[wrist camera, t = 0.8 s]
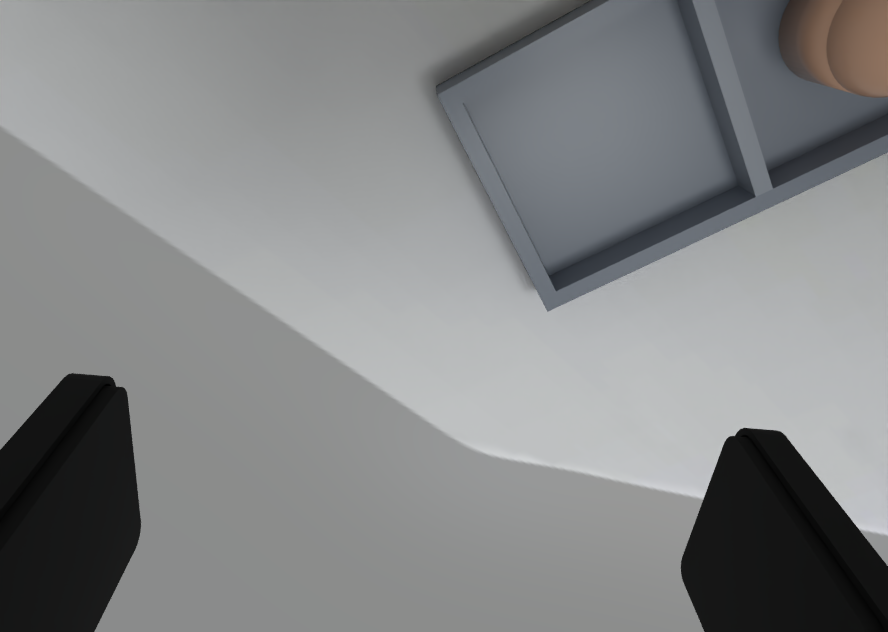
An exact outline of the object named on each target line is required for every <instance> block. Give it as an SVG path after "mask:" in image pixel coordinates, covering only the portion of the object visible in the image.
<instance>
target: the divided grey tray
mask: <svg viewBox="0 0 888 632" xmlns="http://www.w3.org/2000/svg"><path fill="white" fill-rule="evenodd" d="M789 1H790V0H591V1H589V2H587V3H586V4H584V5H582V6H580V7H578V8H577V9H575V10H573V11H571V12H569V13H568V14H566V15H564V16H562V17H560V18H559V19H557V20H555V21H553V22H551V23H550V24H548V25H546V26H544V27H542V28H541V29H539V30H537V31H535V32H533V33H531V34H530V35H528V36H526V37H524V38H522V39H521V40H519V41H517V42H515V43H513V44H512V45H510V46H508V47H506V48H504V49H503V50H501V51H499V52H497V53H495V54H494V55H492V56H490V57H488V58H486V59H485V60H483V61H481V62H479V63H477V64H475V65H474V66H472V67H470V68H468V69H466V70H465V71H463V72H461V73H459V74H457V75H456V76H454V77H452V78H450V79H448V80H447V81H445V82H443V83H441V84H439V85H438V86H436V91H437V96H438V98H439V100H440V102H441V104H442V106H443V108H444V110H445V112H446V114H447V116H448V118H449V120H450V122H451V123H452V125H453V127H454V129H455V131H456V133H457V135H458V137H459V139H460V141H461V143H462V145H463V147H464V149H465V151H466V153H467V155H468V157H469V159H470V161H471V163H472V165H473V167H474V169H475V170H476V172H477V174H478V176H479V178H480V180H481V182H482V184H483V186H484V188H485V190H486V192H487V194H488V196H489V198H490V200H491V202H492V204H493V206H494V208H495V210H496V212H497V214H498V216H499V217H500V219H501V221H502V223H503V225H504V227H505V229H506V231H507V233H508V235H509V237H510V239H511V241H512V243H513V245H514V247H515V249H516V251H517V253H518V255H519V257H520V259H521V261H522V263H523V264H524V266H525V268H526V270H527V272H528V274H529V276H530V278H531V280H532V282H533V284H534V286H535V288H536V290H537V292H538V294H539V296H540V298H541V300H542V302H543V304H544V306H545V308H546V310H547V311H550V310H552V309H554V308H556V307H558V306H561V305H563V304H565V303H567V302H569V301H571V300H573V299H575V298H578V297H580V296H582V295H584V294H586V293H588V292H590V291H593V290H595V289H597V288H599V287H601V286H603V285H605V284H607V283H610V282H612V281H614V280H616V279H618V278H620V277H622V276H625V275H627V274H629V273H631V272H633V271H635V270H637V269H640V268H642V267H644V266H646V265H648V264H650V263H652V262H654V261H657V260H659V259H661V258H663V257H665V256H667V255H669V254H672V253H674V252H676V251H678V250H680V249H682V248H684V247H686V246H689V245H691V244H693V243H695V242H697V241H699V240H701V239H704V238H706V237H708V236H710V235H712V234H714V233H716V232H719V231H721V230H723V229H725V228H727V227H729V226H731V225H733V224H736V223H738V222H740V221H742V220H744V219H746V218H748V217H751V216H753V215H755V214H757V213H759V212H761V211H763V210H765V209H768V208H770V207H772V206H774V205H776V204H778V203H780V202H783V201H785V200H787V199H789V198H791V197H793V196H795V195H798V194H800V193H802V192H804V191H806V190H808V189H810V188H812V187H815V186H817V185H819V184H821V183H823V182H825V181H827V180H830V179H832V178H834V177H836V176H838V175H840V174H842V173H844V172H847V171H849V170H851V169H853V168H855V167H857V166H859V165H862V164H864V163H866V162H868V161H870V160H872V159H874V158H877V157H879V156H881V155H883V154H885V153H887V152H888V97H883V98H872V97H864V96H860V95H856V94H853V93H849V92H845V91H842V90H838V89H835V88H831V87H828V86H824V85H821V84H817V83H813V82H810V81H806V80H804V79H802V78H799V77H798V76H796V75H795V74H794V73H793V72H792V71H790V70H789V68H788V67H787V66H786V64H785V62H784V61H783V59H782V56H781V53H780V48H779V39H778V37H779V27H780V22H781V19H782V16H783V13H784V11H785V8H786V6H787V4H788V3H789Z"/></svg>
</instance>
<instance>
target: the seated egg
mask: <svg viewBox="0 0 888 632" xmlns="http://www.w3.org/2000/svg"><path fill="white" fill-rule="evenodd" d="M778 39H779V48H780V53H781V56H782V59H783V61H784V62H785V64H786V66H787V67H788V68H789V70H790V71H792V72H793V73H794V74H795V75H796V76H798V77H799V78H802V79H804V80H806V81H810V82H813V83H817V84H821V85H824V86H828V87H831V88H835V89H838V90H842V91H845V92H849V93H853V94H856V95H860V96H864V97H872V98H883V97H888V0H790V1H789V3H788V4H787V6H786V8H785V11H784V13H783V16H782V19H781V22H780V27H779V37H778Z"/></svg>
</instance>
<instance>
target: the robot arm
mask: <svg viewBox="0 0 888 632" xmlns="http://www.w3.org/2000/svg"><path fill="white" fill-rule="evenodd" d="M140 529H141V519H140V511H139V500H138V491H137V482H136V472H135V463H134V453H133V444H132V434H131V425H130V415H129V406H128V397H127V392H126V390H125V388H123V387H116V385H115V382H114V380H113V378H111V377H110V376H97V375H85V374H73V373H72V374H68V375H67V376H66V377H64V378H63V380H62V381H61V382H60V383H59V384H58V385H57V386H56V388H55V389H54V390H53V391H52V392H51V393H50V394H49V395H48V397H47V398H46V399H45V400H44V401H43V402H42V403H41V405H40V406H39V407H38V408H37V409H36V410H35V411H34V412H33V414H32V415H31V416H30V417H29V418H28V419H27V420H26V422H25V423H24V424H23V425H22V426H21V427H20V428H19V429H18V431H17V432H16V433H15V434H14V435H13V436H12V437H11V438H10V440H9V441H8V442H7V443H6V444H5V445H4V446H3V448H2V449H1V450H0V632H94V631H95V629H96V627H97V625H98V623H99V621H100V619H101V617H102V615H103V613H104V611H105V609H106V607H107V605H108V603H109V601H110V599H111V597H112V595H113V593H114V591H115V589H116V587H117V585H118V583H119V581H120V579H121V577H122V575H123V573H124V571H125V569H126V566H127V565H128V563H129V561H130V558H131V557H132V555H133V553H134V551H135V549H136V546H137V543H138V540H139V536H140ZM681 574H682V579H683V582H684V584H685V587H686V589H687V591H688V594H689V596H690V599H691V601H692V603H693V606H694V608H695V610H696V613H697V615H698V617H699V620H700V622H701V624H702V627H703V629H704V631H705V632H888V566H887V565H886V563H885V562H884V561H883V560H882V558H881V557H880V556H879V555H878V553H877V552H876V551H875V550H874V548H873V547H872V546H871V545H870V543H869V542H868V541H867V539H866V538H865V537H864V536H863V534H862V533H861V532H860V530H859V529H858V528H857V527H856V525H855V524H854V523H853V521H852V520H851V519H850V518H849V516H848V515H847V514H846V513H845V511H844V510H843V509H842V507H841V506H840V505H839V504H838V502H837V501H836V500H835V498H834V497H833V496H832V495H831V493H830V492H829V491H828V490H827V488H826V487H825V486H824V484H823V483H822V482H821V481H820V479H819V478H818V477H817V476H816V474H815V473H814V472H813V470H812V469H811V468H810V467H809V465H808V464H807V463H806V462H805V460H804V459H803V458H802V456H801V455H800V454H799V453H798V451H797V450H796V449H795V448H794V446H793V445H792V444H791V442H790V441H789V440H788V439H787V437H786V436H785V435H784V434H783V433H782V432H780V431H775V430H763V429H751V428H743V429H740V430H739V431H738V432H737V433H736V435H735V436H730V437H728V438H727V439H726V441H725V443H724V445H723V448H722V451H721V454H720V456H719V459H718V462H717V464H716V467H715V470H714V473H713V475H712V478H711V481H710V483H709V486H708V489H707V492H706V494H705V497H704V500H703V503H702V505H701V508H700V511H699V513H698V516H697V519H696V522H695V524H694V527H693V530H692V532H691V535H690V538H689V541H688V543H687V546H686V549H685V552H684V554H683V557H682V561H681Z"/></svg>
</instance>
